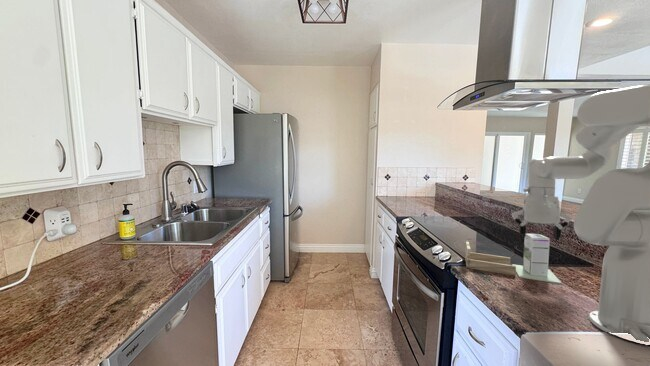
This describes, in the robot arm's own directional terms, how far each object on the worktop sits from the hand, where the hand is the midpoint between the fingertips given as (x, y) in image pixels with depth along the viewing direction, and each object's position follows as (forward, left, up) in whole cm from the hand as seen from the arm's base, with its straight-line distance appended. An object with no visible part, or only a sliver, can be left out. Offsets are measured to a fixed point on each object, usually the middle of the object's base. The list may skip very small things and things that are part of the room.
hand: (539, 237), depth 94 cm
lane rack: (+1, +15, -15) cm, 21 cm away
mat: (+1, 0, -15) cm, 14 cm away
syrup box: (+1, 0, -14) cm, 14 cm away
